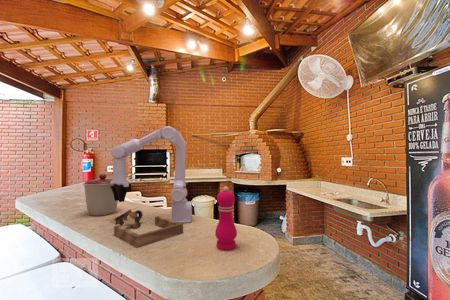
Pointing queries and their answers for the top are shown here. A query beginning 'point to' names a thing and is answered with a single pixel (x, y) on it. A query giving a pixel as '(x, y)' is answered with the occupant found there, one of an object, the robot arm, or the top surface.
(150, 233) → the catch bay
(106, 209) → the canister
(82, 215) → the top surface
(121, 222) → the brown ring with stem
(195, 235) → the top surface
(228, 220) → the pepper mill
